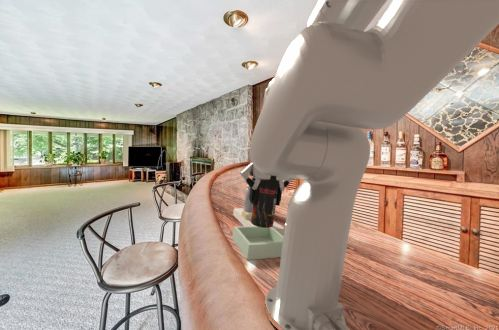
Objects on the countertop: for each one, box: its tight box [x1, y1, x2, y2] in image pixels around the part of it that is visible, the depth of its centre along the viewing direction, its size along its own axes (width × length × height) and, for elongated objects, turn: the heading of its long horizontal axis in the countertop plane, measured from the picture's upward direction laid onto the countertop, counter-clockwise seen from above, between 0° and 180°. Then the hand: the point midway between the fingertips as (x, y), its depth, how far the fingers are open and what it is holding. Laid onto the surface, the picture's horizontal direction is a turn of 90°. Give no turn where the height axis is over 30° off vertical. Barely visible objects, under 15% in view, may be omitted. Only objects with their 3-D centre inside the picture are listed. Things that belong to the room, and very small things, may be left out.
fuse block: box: [232, 183, 285, 236], centre depth 75 cm, size 21×10×12 cm, turn 22°
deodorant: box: [250, 176, 279, 228], centre depth 57 cm, size 6×6×15 cm
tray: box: [231, 225, 284, 261], centre depth 58 cm, size 12×12×4 cm
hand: (264, 203), depth 58 cm, fingers closed on deodorant, 5 cm apart
